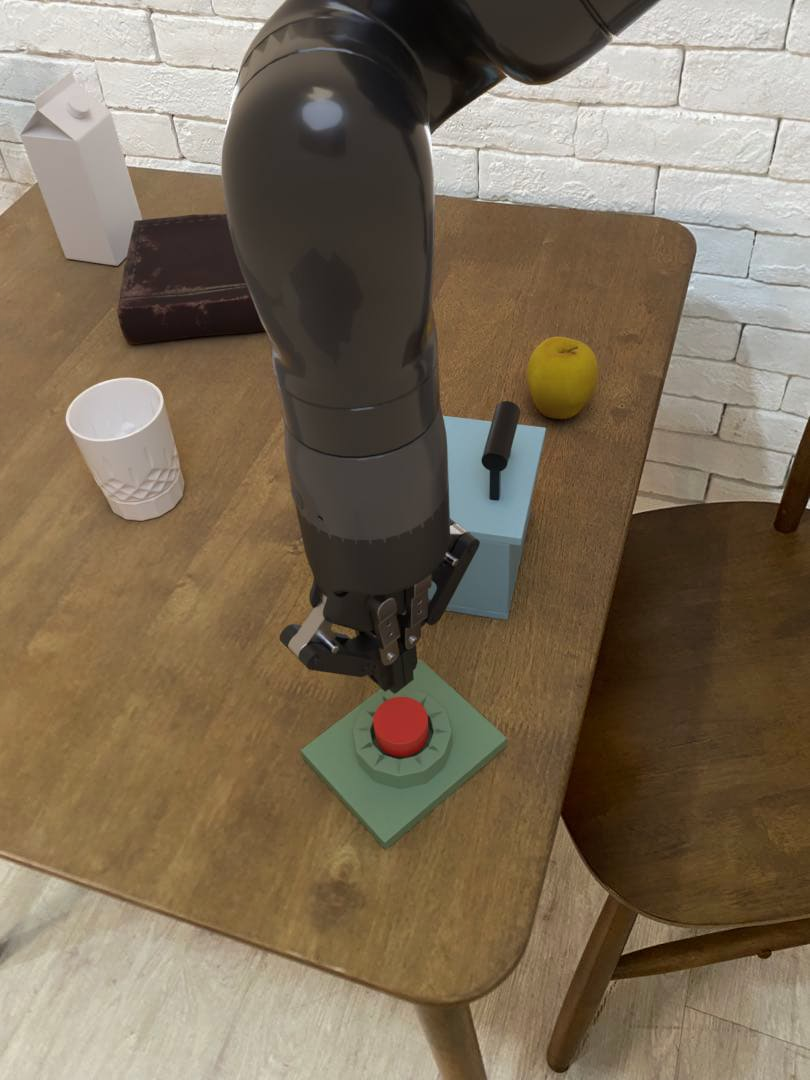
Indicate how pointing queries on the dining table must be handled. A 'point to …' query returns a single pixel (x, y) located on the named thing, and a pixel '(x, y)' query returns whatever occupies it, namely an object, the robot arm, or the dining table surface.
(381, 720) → the button
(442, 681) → the green button base
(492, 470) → the lid
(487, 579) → the box
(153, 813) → the dining table surface
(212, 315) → the diary
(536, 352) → the apple
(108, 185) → the milk carton
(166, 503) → the white cup
